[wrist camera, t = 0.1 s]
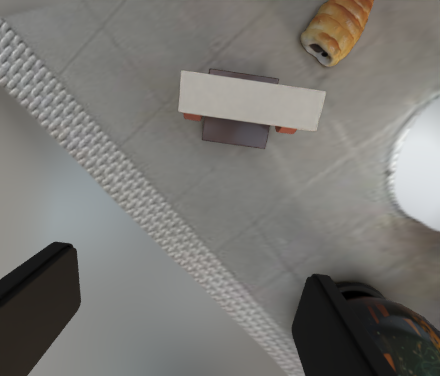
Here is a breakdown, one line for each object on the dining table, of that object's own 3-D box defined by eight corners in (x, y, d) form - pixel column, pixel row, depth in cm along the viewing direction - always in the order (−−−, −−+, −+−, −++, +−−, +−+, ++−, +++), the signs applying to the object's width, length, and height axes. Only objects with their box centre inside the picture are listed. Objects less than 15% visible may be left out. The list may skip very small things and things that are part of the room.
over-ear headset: (190, 84, 28) (169, 59, 17) (294, 99, 28) (341, 85, 17) (187, 119, 29) (166, 117, 18) (287, 133, 29) (325, 140, 18)
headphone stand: (210, 70, 31) (200, 30, 17) (277, 80, 31) (317, 48, 18) (202, 139, 34) (189, 150, 20) (263, 147, 34) (290, 164, 21)
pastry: (341, -26, 27) (360, -49, 24) (378, 9, 28) (401, -7, 25) (294, 43, 30) (304, 33, 26) (329, 74, 31) (344, 67, 27)
